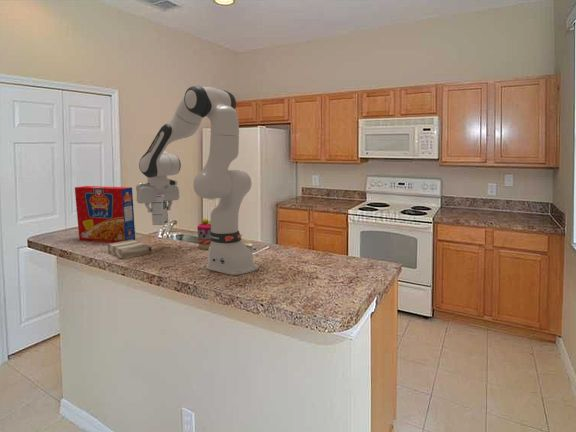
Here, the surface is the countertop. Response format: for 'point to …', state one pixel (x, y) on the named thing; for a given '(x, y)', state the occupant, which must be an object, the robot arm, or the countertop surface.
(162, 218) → the syrup box
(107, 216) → the pasta box
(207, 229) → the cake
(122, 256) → the dock
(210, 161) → the robot arm
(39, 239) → the countertop surface
